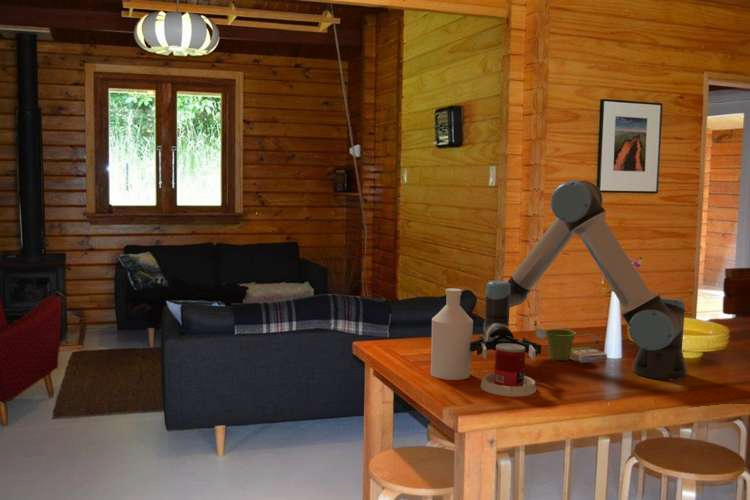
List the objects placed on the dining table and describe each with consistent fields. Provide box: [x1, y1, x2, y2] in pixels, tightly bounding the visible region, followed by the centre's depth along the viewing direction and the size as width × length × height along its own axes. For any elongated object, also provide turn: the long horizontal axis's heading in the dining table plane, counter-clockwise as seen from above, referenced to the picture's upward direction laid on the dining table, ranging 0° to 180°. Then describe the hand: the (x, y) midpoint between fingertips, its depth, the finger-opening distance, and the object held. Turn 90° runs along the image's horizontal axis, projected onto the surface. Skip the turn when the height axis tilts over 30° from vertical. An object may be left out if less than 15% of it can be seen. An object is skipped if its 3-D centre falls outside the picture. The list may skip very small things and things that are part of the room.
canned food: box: [494, 343, 526, 387], centre depth 212 cm, size 8×8×11 cm
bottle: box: [430, 287, 474, 381], centre depth 224 cm, size 12×12×25 cm
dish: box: [480, 373, 537, 398], centre depth 213 cm, size 15×15×2 cm
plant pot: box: [545, 328, 577, 362], centre depth 248 cm, size 9×9×9 cm
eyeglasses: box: [533, 325, 599, 342], centre depth 278 cm, size 15×18×4 cm
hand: (509, 354), depth 214 cm, fingers open, 13 cm apart
